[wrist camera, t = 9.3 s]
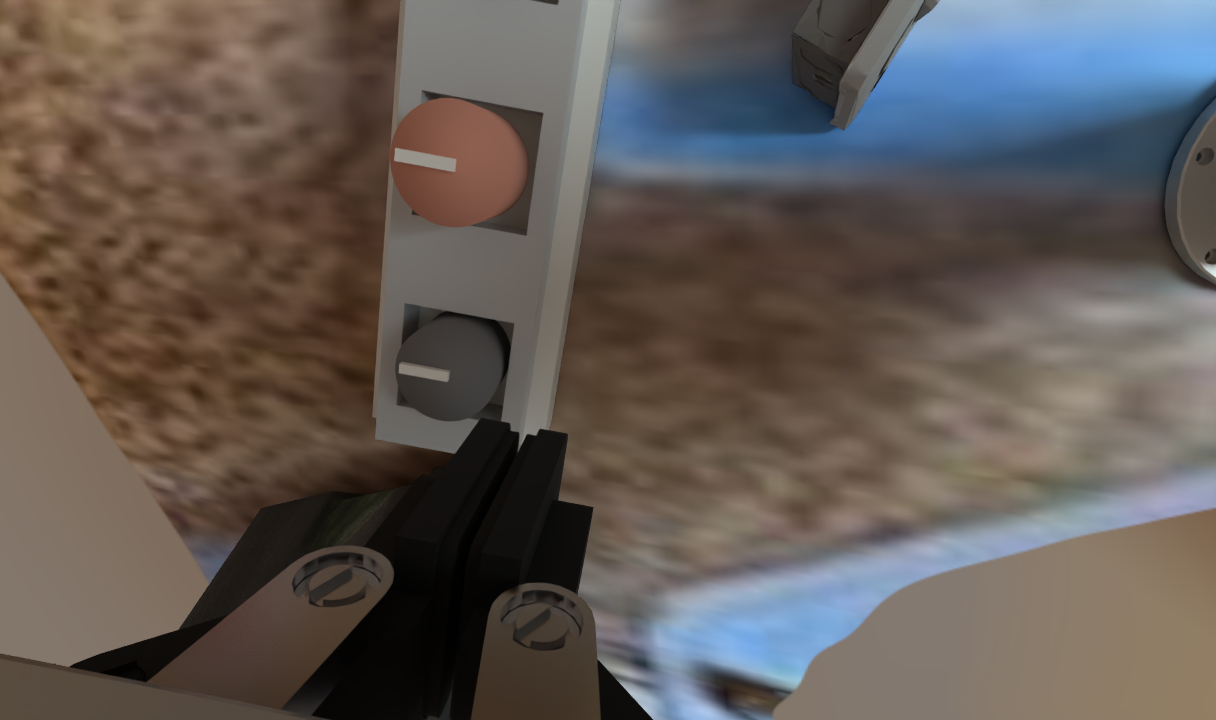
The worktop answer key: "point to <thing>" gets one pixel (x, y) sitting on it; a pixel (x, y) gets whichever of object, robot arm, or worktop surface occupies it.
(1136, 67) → the worktop surface
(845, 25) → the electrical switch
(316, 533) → the bottle
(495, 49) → the knob panel
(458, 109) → the knob mid
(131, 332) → the worktop surface
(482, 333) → the knob
